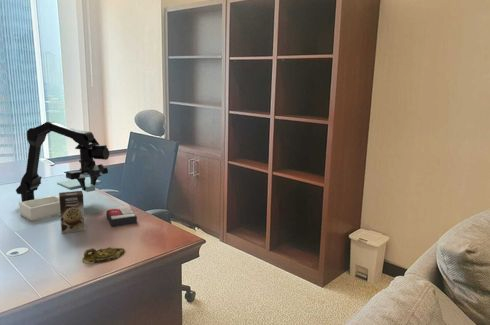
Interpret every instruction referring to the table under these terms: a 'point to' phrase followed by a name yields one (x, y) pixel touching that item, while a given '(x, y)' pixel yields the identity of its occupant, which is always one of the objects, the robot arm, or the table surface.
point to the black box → (121, 217)
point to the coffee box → (72, 211)
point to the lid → (76, 185)
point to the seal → (102, 255)
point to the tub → (40, 208)
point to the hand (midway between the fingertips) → (88, 189)
